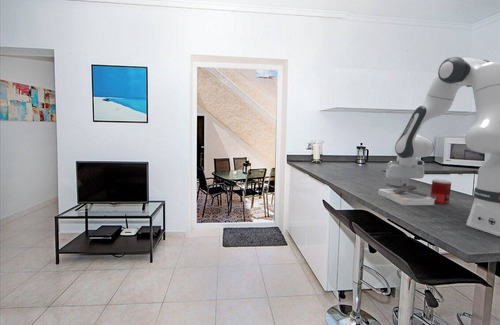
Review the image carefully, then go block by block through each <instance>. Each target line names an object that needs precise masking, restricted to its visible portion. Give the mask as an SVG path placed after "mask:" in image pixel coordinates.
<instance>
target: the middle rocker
mask: <svg viewBox="0 0 500 325" xmlns="http://www.w3.org/2000/svg"><path fill="white" fill-rule="evenodd" d="M403 188H405V189H409V190H412V191H416V190H417V186H415V185H411V184H410V185H407V186H405V187H401V188H393V189H394V190H393V192H395V193H398V194H400V193H404V192H406V191H403Z"/></svg>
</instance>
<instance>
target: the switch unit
mask: <svg viewBox="0 0 500 325" xmlns="http://www.w3.org/2000/svg"><path fill="white" fill-rule="evenodd" d="M394 189H395V188H378V189H377V190H378V191H377V194H378V195H379V196H381V197H383V198H386V199H387V200H391V201H393V202H395V203H397V204H399V205H402V206H434V205H435V203H434V200H435V199H433V198H431V196H430V197H429V196H428V195H427V196H426V197H424V196H420V195H416V194H412V193H408V192H404V193H400V194H398V193H395V192H393V190H394Z"/></svg>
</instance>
